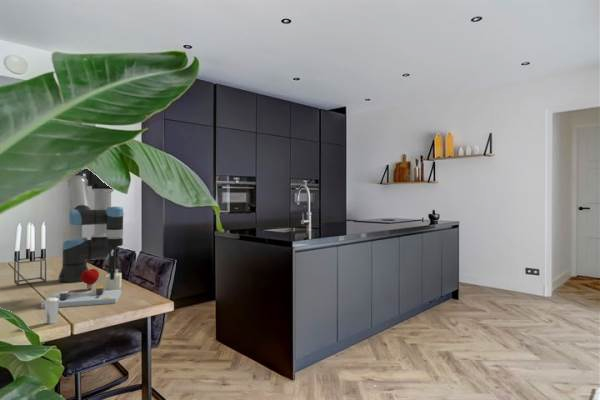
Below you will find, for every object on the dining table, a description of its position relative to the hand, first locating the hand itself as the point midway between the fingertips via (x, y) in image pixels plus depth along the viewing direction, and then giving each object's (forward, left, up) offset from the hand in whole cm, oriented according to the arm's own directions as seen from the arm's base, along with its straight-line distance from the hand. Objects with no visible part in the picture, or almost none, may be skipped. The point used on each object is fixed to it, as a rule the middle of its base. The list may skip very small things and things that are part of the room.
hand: (113, 283), depth 178 cm
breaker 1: (+18, -17, -2) cm, 24 cm away
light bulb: (-7, -12, -4) cm, 15 cm away
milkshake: (+44, -14, -4) cm, 46 cm away
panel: (+14, -10, -4) cm, 18 cm away
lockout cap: (0, 0, -2) cm, 2 cm away
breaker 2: (+12, -4, -2) cm, 13 cm away
